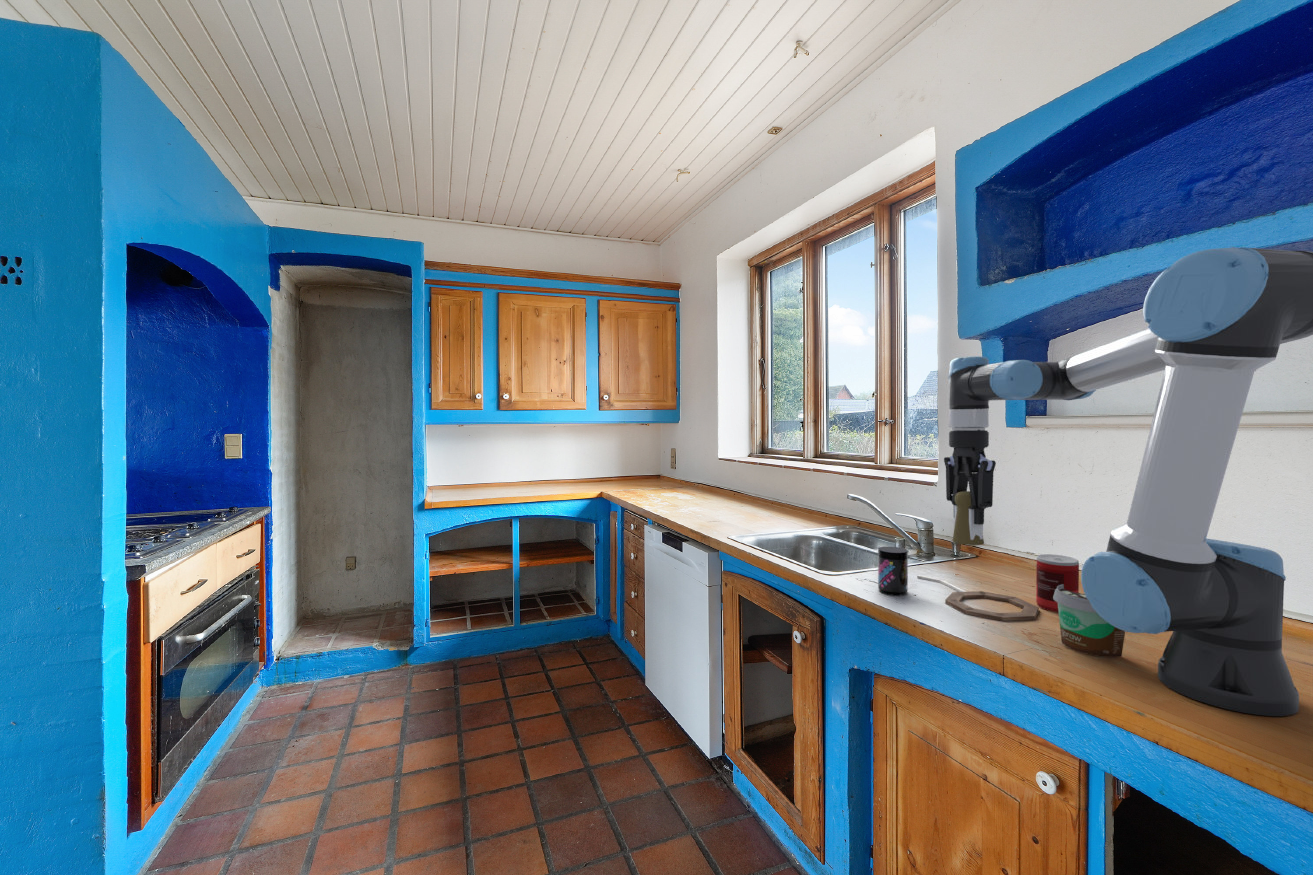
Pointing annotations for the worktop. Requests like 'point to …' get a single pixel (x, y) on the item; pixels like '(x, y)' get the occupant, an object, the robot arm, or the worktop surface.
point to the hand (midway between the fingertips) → (968, 536)
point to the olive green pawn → (964, 521)
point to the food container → (1086, 626)
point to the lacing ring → (1026, 614)
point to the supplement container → (893, 570)
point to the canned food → (1055, 578)
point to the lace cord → (941, 582)
